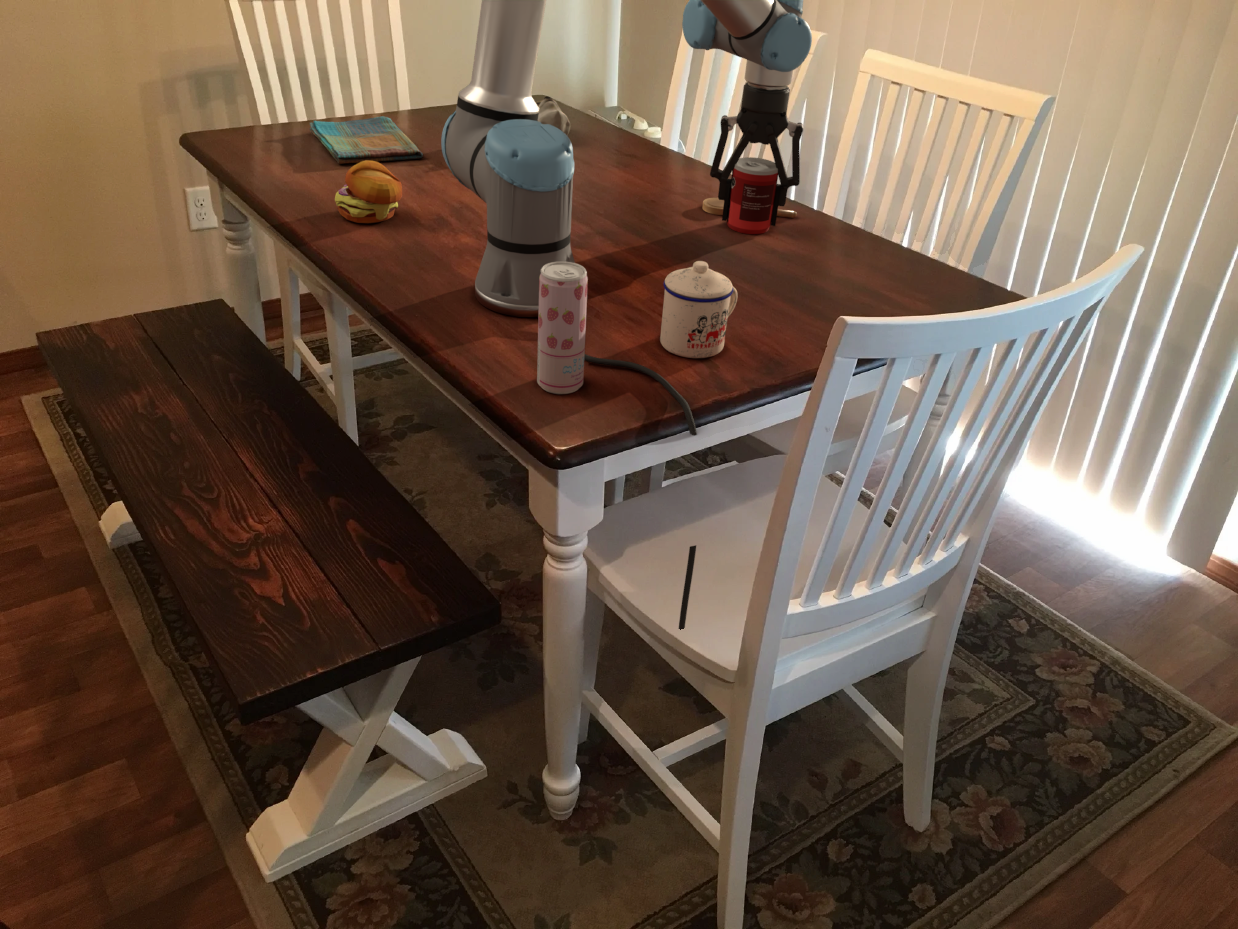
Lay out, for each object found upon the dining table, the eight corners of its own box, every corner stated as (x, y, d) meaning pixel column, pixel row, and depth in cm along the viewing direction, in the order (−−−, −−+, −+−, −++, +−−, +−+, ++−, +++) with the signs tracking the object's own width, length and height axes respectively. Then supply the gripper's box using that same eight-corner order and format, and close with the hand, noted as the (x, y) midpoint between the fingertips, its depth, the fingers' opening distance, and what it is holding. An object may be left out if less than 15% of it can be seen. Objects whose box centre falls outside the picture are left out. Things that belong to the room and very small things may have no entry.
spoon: (796, 212, 181) (797, 205, 181) (796, 223, 176) (797, 216, 176) (703, 202, 183) (704, 195, 182) (701, 213, 178) (701, 206, 177)
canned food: (744, 215, 178) (752, 154, 172) (779, 228, 173) (789, 166, 167) (716, 224, 173) (723, 161, 167) (751, 238, 169) (760, 174, 163)
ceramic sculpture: (533, 103, 200) (512, 89, 211) (533, 147, 204) (512, 131, 216) (583, 102, 203) (559, 88, 215) (581, 145, 208) (558, 130, 219)
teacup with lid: (690, 366, 128) (699, 282, 122) (644, 340, 134) (651, 258, 128) (754, 344, 135) (766, 263, 129) (708, 319, 141) (717, 240, 134)
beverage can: (567, 400, 119) (571, 283, 111) (528, 386, 122) (529, 271, 113) (591, 381, 124) (597, 268, 115) (553, 368, 126) (556, 256, 117)
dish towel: (391, 126, 211) (390, 114, 210) (425, 159, 194) (424, 146, 192) (309, 132, 204) (307, 119, 203) (336, 166, 187) (335, 152, 186)
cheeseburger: (363, 199, 172) (370, 145, 166) (410, 227, 170) (419, 174, 164) (321, 214, 165) (327, 158, 159) (370, 243, 162) (378, 188, 156)
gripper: (830, 84, 162) (807, 219, 175) (705, 73, 164) (691, 207, 177) (832, 95, 156) (808, 234, 169) (701, 83, 158) (688, 221, 171)
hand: (748, 220), depth 173 cm, fingers closed on canned food, 8 cm apart
